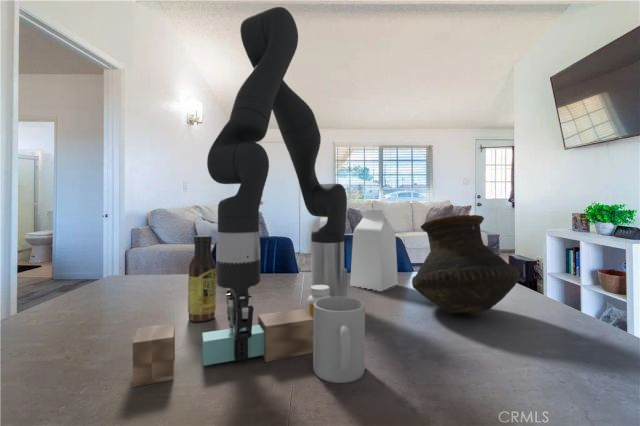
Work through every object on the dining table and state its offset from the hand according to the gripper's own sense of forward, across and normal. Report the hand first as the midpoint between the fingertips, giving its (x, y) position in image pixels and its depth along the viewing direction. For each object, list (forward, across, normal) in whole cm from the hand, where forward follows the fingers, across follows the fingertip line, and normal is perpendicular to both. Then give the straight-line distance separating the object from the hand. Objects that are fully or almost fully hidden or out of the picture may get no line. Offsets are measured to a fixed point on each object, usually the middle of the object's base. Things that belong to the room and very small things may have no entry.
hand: (238, 353), depth 57 cm
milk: (+1, +36, -51) cm, 63 cm away
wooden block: (+1, 0, -9) cm, 9 cm away
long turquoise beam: (0, 0, -3) cm, 3 cm away
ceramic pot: (+1, +2, -55) cm, 55 cm away
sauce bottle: (+1, +24, +5) cm, 25 cm away
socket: (+1, 0, +13) cm, 13 cm away
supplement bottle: (+1, +6, -18) cm, 19 cm away
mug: (+1, -12, -14) cm, 19 cm away
